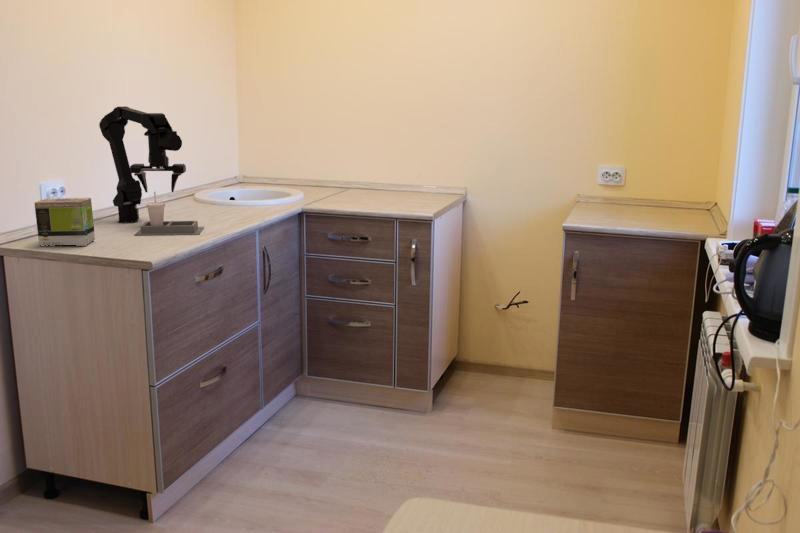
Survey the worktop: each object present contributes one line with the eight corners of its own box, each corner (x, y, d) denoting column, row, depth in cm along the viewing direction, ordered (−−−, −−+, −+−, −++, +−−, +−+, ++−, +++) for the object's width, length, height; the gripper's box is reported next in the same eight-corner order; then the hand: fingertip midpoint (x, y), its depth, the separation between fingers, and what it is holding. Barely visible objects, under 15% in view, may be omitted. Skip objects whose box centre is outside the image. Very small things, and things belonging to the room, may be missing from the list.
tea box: (95, 240, 265) (92, 197, 262) (85, 247, 255) (81, 201, 252) (50, 240, 265) (46, 197, 261) (38, 247, 255) (33, 201, 251)
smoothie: (147, 232, 276) (144, 193, 273) (148, 229, 282) (145, 190, 279) (166, 232, 278) (164, 192, 275) (167, 228, 284) (164, 189, 281)
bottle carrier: (134, 235, 273) (133, 227, 272) (141, 228, 286) (141, 220, 285) (199, 234, 276) (198, 226, 275) (203, 227, 288) (203, 219, 287)
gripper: (187, 147, 291) (189, 189, 295) (135, 146, 289) (138, 189, 293) (182, 150, 280) (184, 193, 284) (128, 149, 279) (131, 193, 282)
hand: (159, 192), depth 286 cm, fingers open, 9 cm apart
